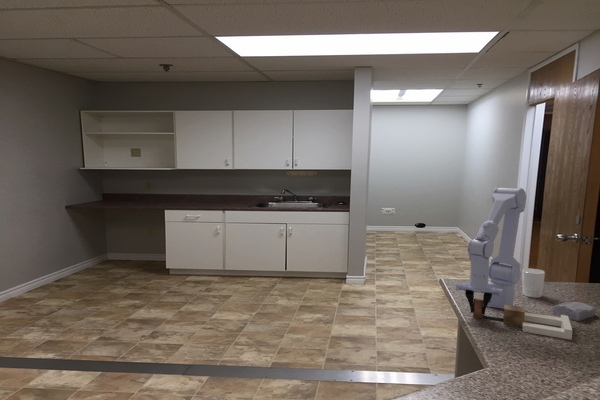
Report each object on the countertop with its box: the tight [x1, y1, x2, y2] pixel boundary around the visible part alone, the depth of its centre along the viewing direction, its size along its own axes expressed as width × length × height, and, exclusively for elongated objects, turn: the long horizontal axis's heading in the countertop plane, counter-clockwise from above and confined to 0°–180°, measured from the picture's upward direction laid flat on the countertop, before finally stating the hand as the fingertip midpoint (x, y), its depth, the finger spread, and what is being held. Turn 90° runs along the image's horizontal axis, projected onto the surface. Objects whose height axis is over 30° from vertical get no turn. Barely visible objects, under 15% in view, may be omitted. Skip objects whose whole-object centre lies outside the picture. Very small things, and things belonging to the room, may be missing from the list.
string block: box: [472, 297, 526, 328], centre depth 136 cm, size 16×5×6 cm, turn 61°
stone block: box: [552, 301, 597, 322], centre depth 141 cm, size 12×5×10 cm
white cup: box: [521, 267, 546, 299], centre depth 161 cm, size 8×8×10 cm
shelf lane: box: [521, 311, 573, 341], centre depth 130 cm, size 13×13×3 cm
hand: (477, 312), depth 139 cm, fingers open, 3 cm apart
